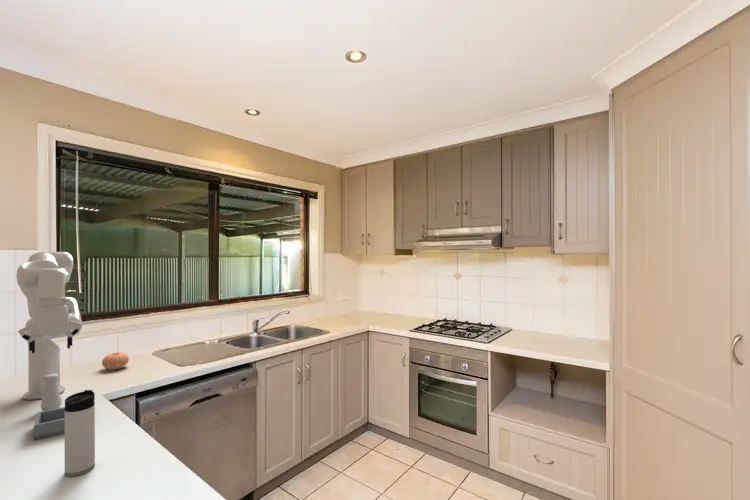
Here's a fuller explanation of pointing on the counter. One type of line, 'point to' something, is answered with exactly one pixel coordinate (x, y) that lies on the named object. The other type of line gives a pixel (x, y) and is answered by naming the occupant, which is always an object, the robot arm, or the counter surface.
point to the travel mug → (79, 433)
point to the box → (49, 423)
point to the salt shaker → (51, 393)
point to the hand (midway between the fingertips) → (51, 350)
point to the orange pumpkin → (115, 361)
